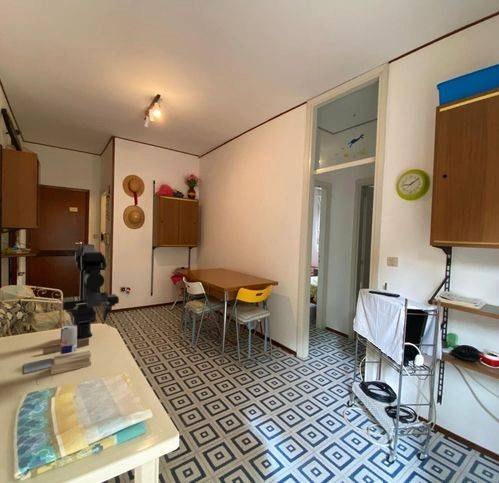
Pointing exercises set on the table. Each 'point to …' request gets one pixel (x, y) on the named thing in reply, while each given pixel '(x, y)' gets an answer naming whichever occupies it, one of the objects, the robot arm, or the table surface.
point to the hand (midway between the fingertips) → (90, 323)
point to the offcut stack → (70, 361)
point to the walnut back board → (57, 347)
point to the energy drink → (68, 339)
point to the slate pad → (37, 365)
